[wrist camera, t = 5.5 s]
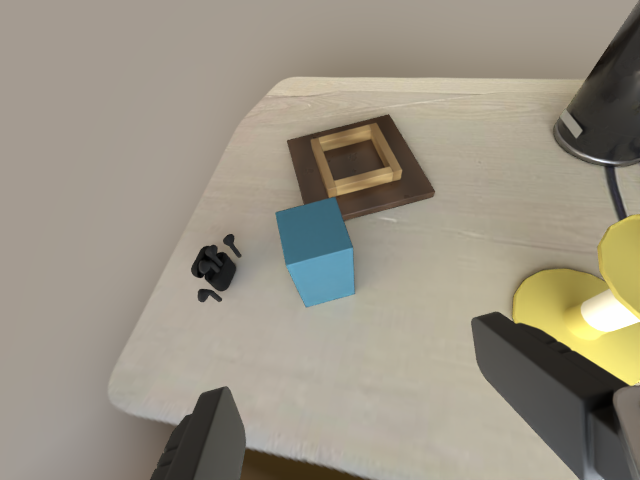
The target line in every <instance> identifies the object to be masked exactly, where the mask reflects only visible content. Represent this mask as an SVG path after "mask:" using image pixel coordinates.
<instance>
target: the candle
mask: <svg viewBox="0 0 640 480" xmlns="http://www.w3.org/2000/svg"><path fill="white" fill-rule="evenodd" d="M597 250H598V260H599V270H600V273H601V275H602V276H603V278H604V280H605V281H606V282H605V281H603V280H601V279H599V278H597V277H595V276H593V275H591V274H588V273H583V272H579V271H575V270H570V269H566V268H564V269H552V270H542V271H540V272H538V273H536V274H534V275H532V276H530V277H528V278H527V279H525V280H523V282H522V284H521V285H520V287H519V288H518V290H517V291H516V293H515V295H514V296H513V316H512V317H513V320H514V322H515V323H516V324H517V323H520V322H521V323H524V324H527V325H530V326H533V327H536V328H539V329H541V330H543V331H544V332H546V333H547V334H549V335H551V336H552V337H554V338H555V339H557V341H558V342H562V343H563V344H565V345H566V346H568V347H570V348H571V350H572V351H576V352H578V353H579V354H581V355H582V356H584V357H586V358H587V359H589V360H590V361H592V362H594V363H595V364H597V365H598V366H600V367H602V368H603V369H605V370H606V371H608V372H610V373H611V374H613V375H614V376H616V377H617V378H619V379H621V380H622V381H624V382H625V383H627V384H629V385H630V386H633V385H634V384H636V383H638V382H639V381H640V214H637V215H630V216H628V217H627V218H625V219H623V220H621V221H619V222H617V223H615V224H613V225H611V226H610V227H608V229H607V231H606V232H605V234H604V236H603V238H602V239H601V241H600V243H599V245H598V247H597Z"/></svg>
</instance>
